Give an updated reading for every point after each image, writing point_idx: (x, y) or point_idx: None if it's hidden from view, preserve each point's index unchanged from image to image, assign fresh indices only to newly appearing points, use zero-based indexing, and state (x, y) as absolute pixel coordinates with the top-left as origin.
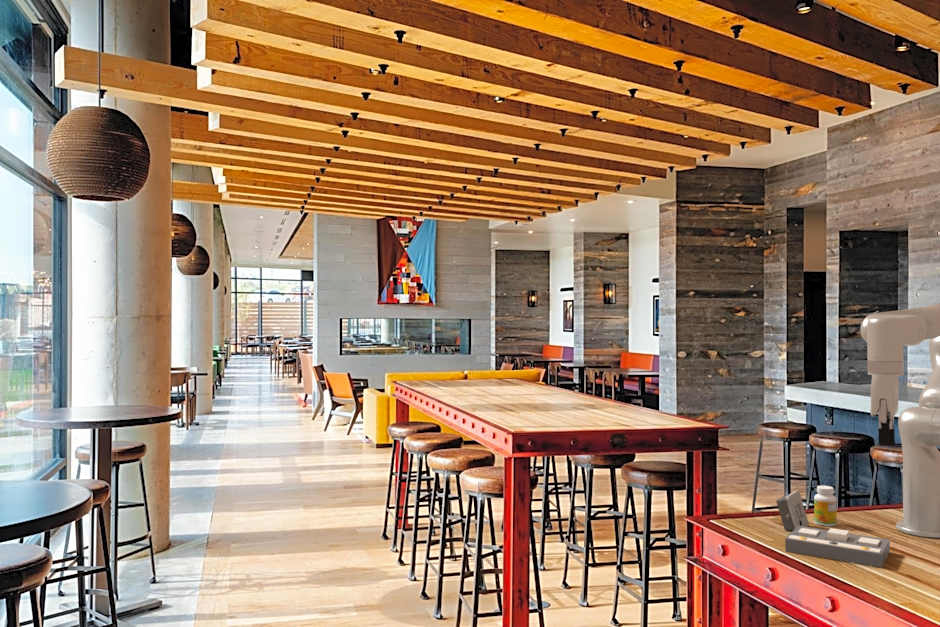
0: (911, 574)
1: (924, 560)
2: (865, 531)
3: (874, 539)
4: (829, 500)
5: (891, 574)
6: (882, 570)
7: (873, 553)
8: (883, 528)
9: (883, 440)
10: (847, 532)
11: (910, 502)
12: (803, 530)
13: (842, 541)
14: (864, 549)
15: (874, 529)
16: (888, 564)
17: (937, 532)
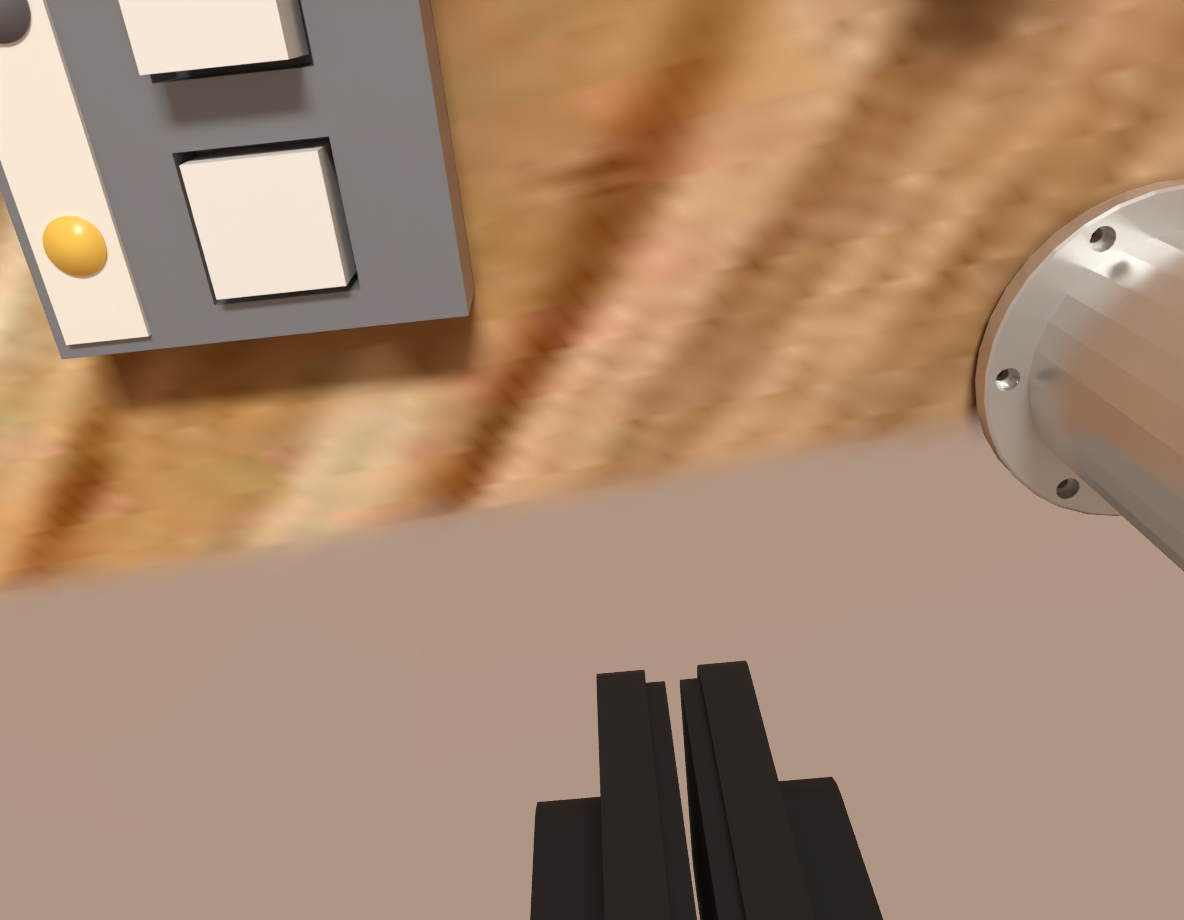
0: (126, 478)
1: (453, 477)
2: (929, 11)
3: (327, 251)
4: None
5: (28, 399)
6: None
7: (47, 309)
8: (1092, 106)
9: (535, 840)
10: (229, 62)
11: (1174, 369)
12: None
13: None
14: (44, 250)
15: (1028, 55)
16: None
17: (1035, 453)
